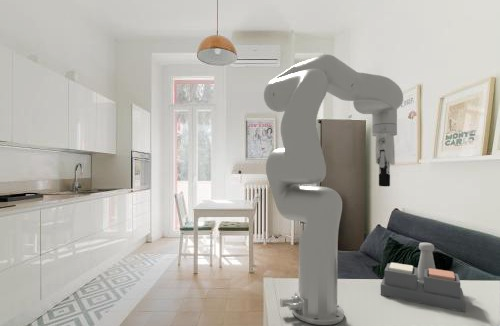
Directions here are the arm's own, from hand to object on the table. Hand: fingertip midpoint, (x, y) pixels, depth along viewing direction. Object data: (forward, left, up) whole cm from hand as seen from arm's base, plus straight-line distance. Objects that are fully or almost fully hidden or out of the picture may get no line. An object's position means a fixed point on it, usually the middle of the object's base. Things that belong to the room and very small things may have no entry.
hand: (384, 186), depth 99 cm
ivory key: (-2, -9, -27) cm, 29 cm away
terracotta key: (+5, -17, -27) cm, 32 cm away
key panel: (+2, -13, -31) cm, 34 cm away
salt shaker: (+12, -5, -31) cm, 34 cm away
